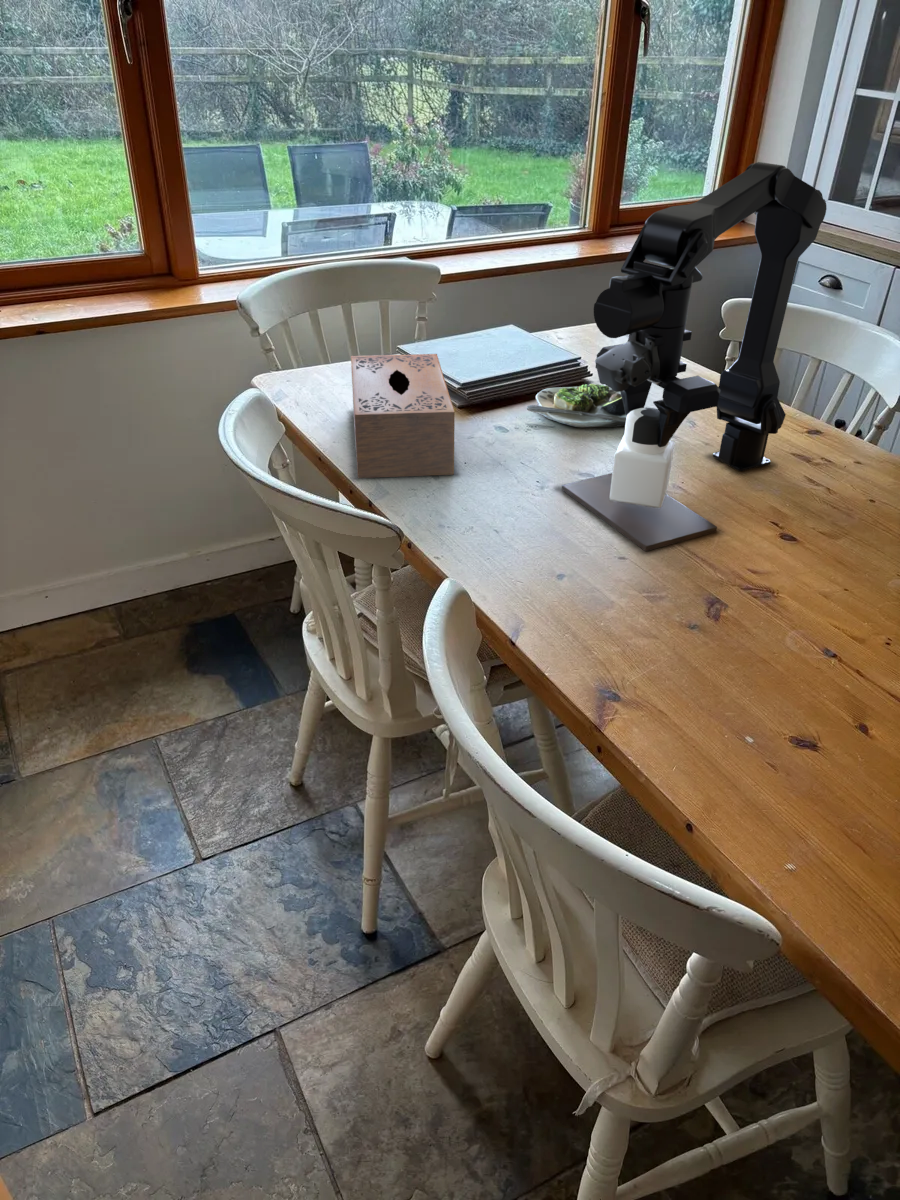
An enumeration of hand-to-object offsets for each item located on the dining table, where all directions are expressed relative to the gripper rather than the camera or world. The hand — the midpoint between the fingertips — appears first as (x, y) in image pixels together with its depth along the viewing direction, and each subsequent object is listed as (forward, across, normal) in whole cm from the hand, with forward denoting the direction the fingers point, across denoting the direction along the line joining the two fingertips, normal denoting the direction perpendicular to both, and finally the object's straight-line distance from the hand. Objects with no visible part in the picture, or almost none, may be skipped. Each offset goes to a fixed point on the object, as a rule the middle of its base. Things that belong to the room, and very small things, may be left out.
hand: (646, 437), depth 122 cm
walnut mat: (+11, 0, 0) cm, 11 cm away
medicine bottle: (+9, 0, 0) cm, 9 cm away
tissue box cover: (+11, -36, -20) cm, 43 cm away
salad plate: (+11, -33, +15) cm, 38 cm away
